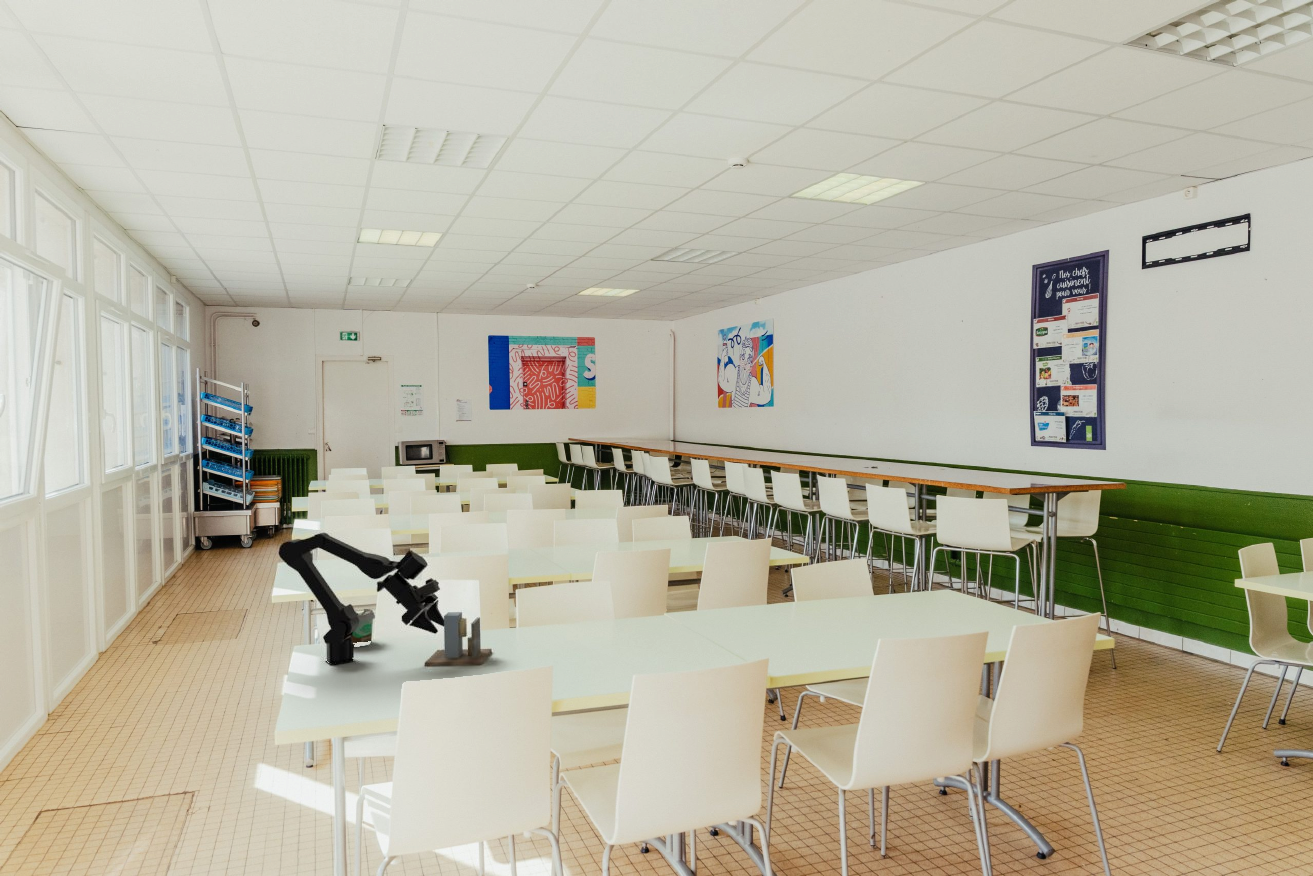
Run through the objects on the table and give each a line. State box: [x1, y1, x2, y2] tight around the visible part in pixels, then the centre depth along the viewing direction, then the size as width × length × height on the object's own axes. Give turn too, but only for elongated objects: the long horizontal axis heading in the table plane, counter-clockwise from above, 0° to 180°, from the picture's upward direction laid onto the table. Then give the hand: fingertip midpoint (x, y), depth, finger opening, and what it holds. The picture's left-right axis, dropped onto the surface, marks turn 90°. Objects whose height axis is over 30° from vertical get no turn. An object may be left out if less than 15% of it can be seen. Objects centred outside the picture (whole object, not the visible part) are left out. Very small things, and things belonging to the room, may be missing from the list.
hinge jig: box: [424, 617, 492, 667], centre depth 237 cm, size 16×14×11 cm
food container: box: [349, 608, 376, 645], centre depth 256 cm, size 12×6×10 cm, turn 168°
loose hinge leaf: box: [443, 611, 468, 658], centre depth 237 cm, size 6×5×12 cm
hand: (441, 628), depth 237 cm, fingers open, 9 cm apart
